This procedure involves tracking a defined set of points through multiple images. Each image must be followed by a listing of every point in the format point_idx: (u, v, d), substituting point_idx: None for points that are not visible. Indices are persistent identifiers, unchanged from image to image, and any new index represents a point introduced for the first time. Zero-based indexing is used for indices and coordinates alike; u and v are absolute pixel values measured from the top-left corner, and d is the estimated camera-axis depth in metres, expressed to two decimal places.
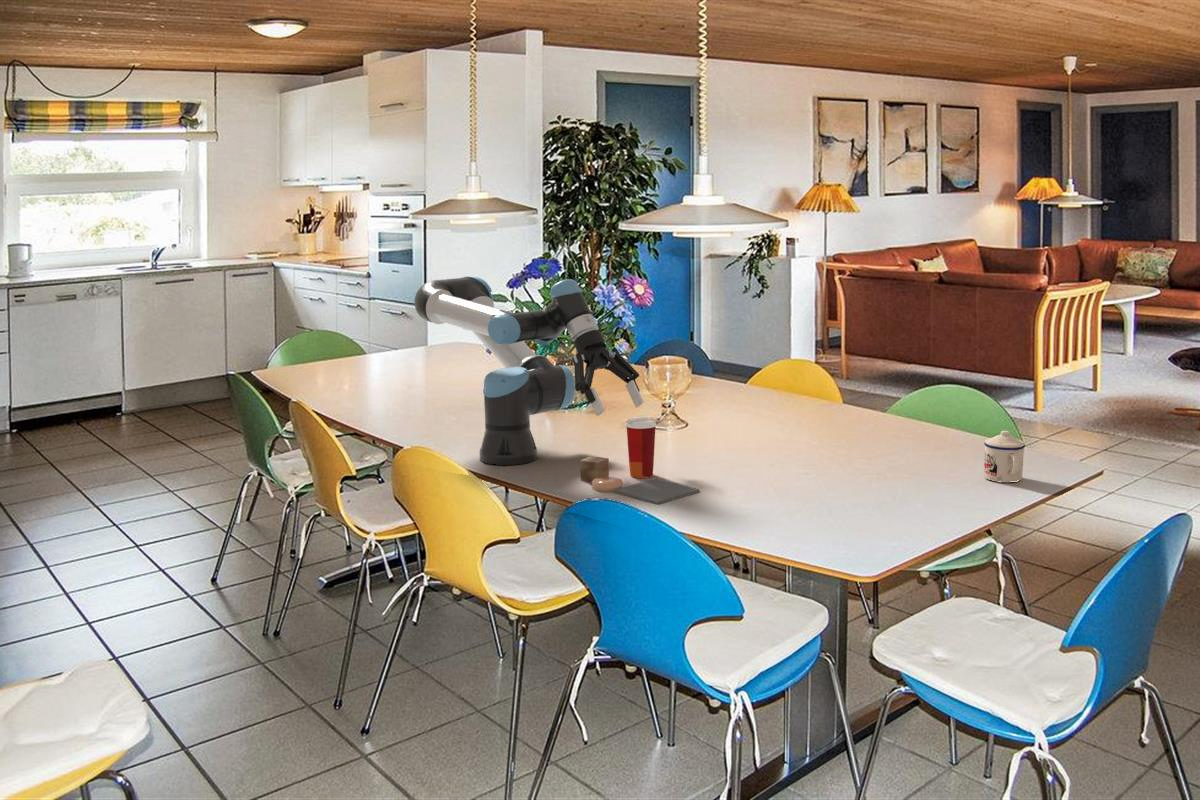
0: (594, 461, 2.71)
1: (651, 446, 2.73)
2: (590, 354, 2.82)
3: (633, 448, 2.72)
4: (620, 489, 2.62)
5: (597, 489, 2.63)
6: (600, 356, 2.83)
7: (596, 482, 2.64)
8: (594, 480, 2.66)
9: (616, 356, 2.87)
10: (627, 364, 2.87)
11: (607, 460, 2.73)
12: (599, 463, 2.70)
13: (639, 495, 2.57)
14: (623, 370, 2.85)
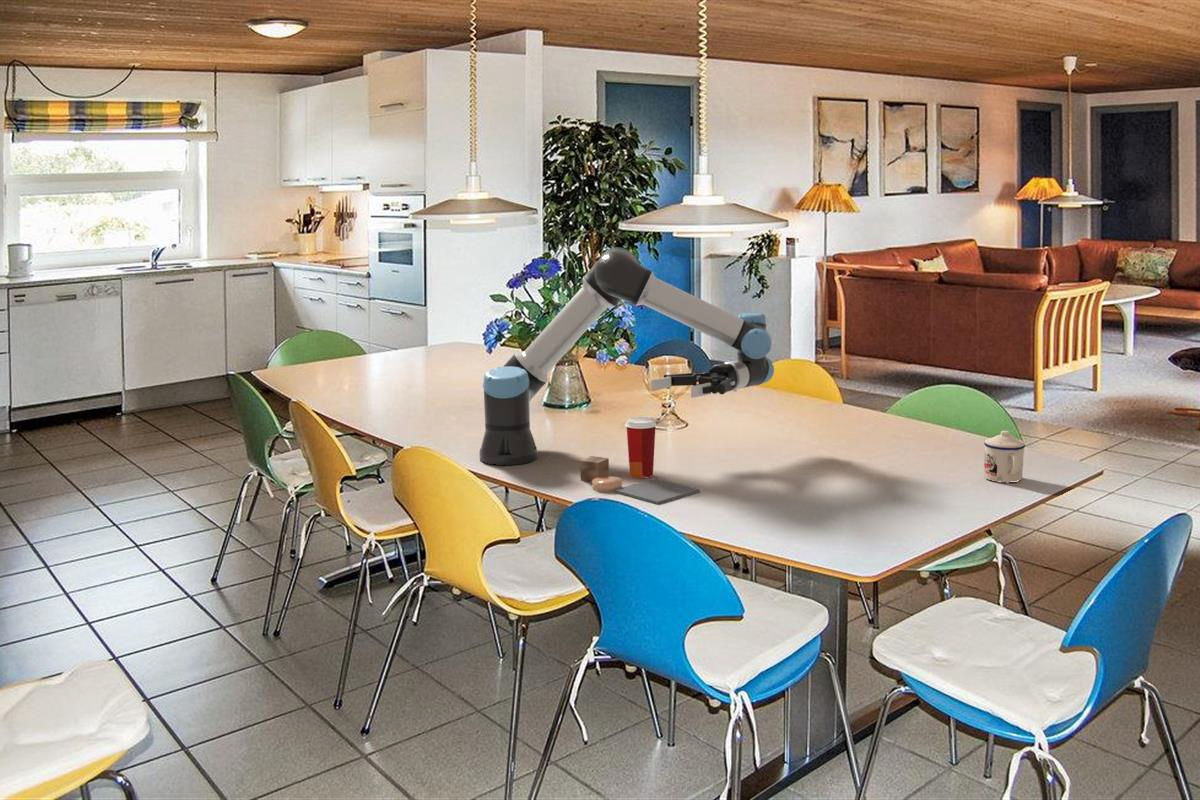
0: (594, 461, 2.71)
1: (651, 446, 2.73)
2: None
3: (633, 448, 2.72)
4: (620, 489, 2.62)
5: (597, 489, 2.63)
6: None
7: (596, 482, 2.64)
8: (594, 480, 2.66)
9: None
10: None
11: (607, 460, 2.73)
12: (599, 463, 2.70)
13: (639, 495, 2.57)
14: None
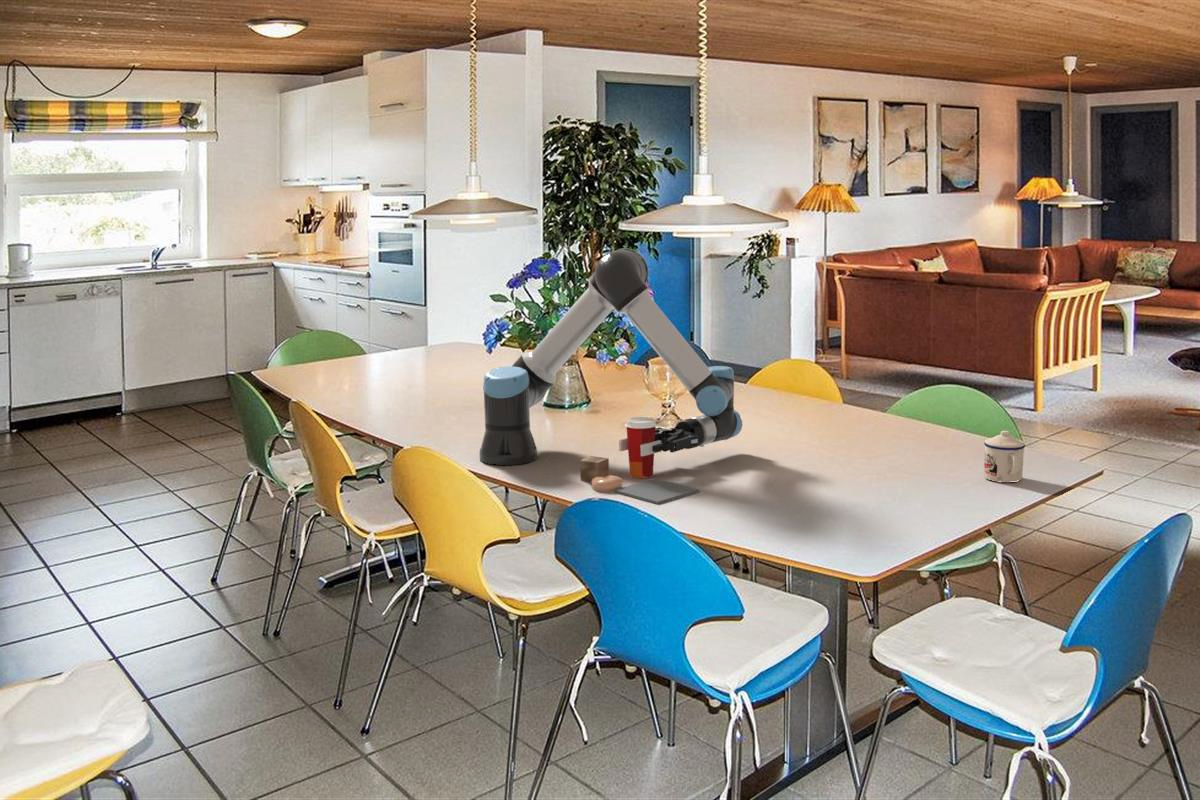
0: (594, 461, 2.71)
1: None
2: None
3: (633, 448, 2.72)
4: (620, 489, 2.62)
5: (605, 490, 2.62)
6: None
7: (602, 483, 2.63)
8: (595, 482, 2.64)
9: None
10: None
11: (607, 460, 2.73)
12: (599, 463, 2.70)
13: (639, 495, 2.57)
14: None
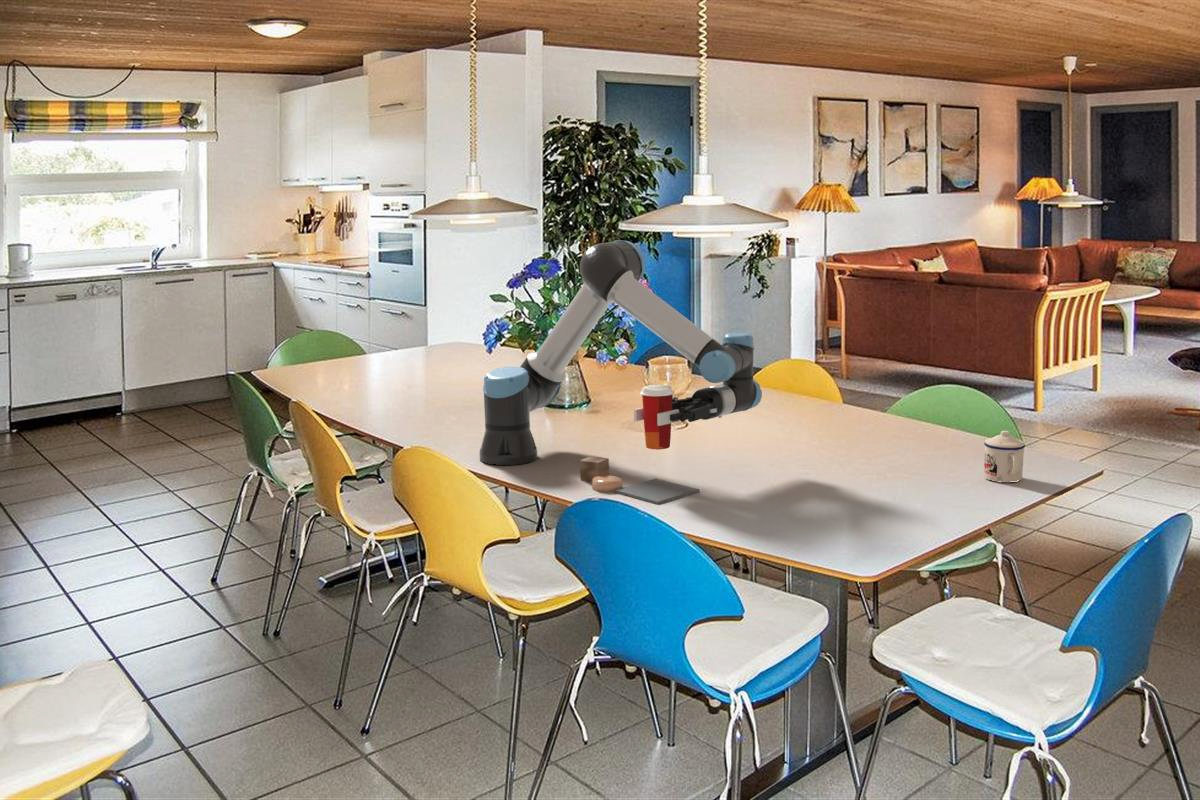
0: (594, 461, 2.71)
1: None
2: None
3: (649, 417, 2.57)
4: (620, 489, 2.62)
5: (611, 489, 2.62)
6: None
7: (607, 483, 2.63)
8: (599, 482, 2.63)
9: None
10: None
11: (607, 460, 2.73)
12: (599, 463, 2.70)
13: (639, 495, 2.57)
14: None
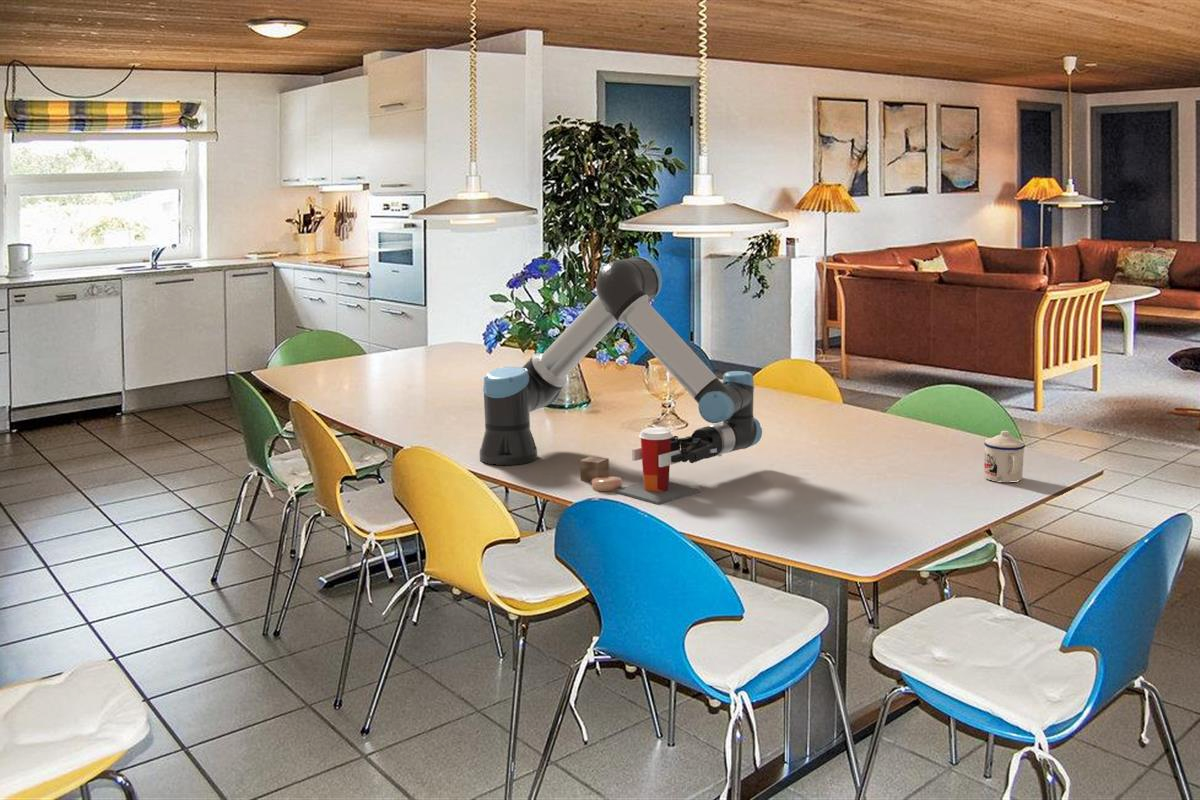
0: (594, 461, 2.71)
1: None
2: None
3: (648, 460, 2.58)
4: (620, 489, 2.62)
5: (618, 486, 2.64)
6: None
7: (614, 481, 2.63)
8: (605, 482, 2.63)
9: None
10: None
11: (607, 460, 2.73)
12: (599, 463, 2.70)
13: (639, 495, 2.57)
14: None
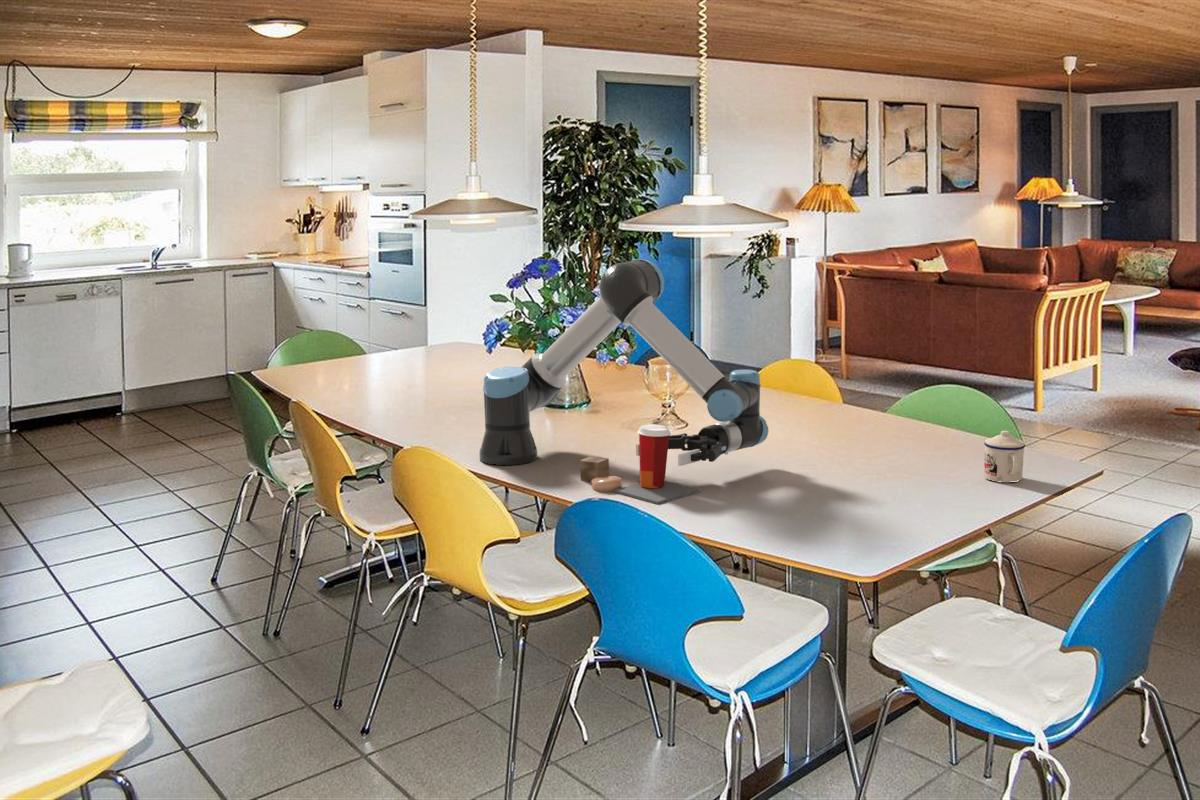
0: (594, 461, 2.71)
1: (663, 456, 2.61)
2: None
3: (645, 456, 2.61)
4: (620, 489, 2.62)
5: (621, 485, 2.65)
6: None
7: (616, 480, 2.64)
8: (609, 482, 2.63)
9: None
10: None
11: (607, 460, 2.73)
12: (599, 463, 2.70)
13: (639, 495, 2.57)
14: None
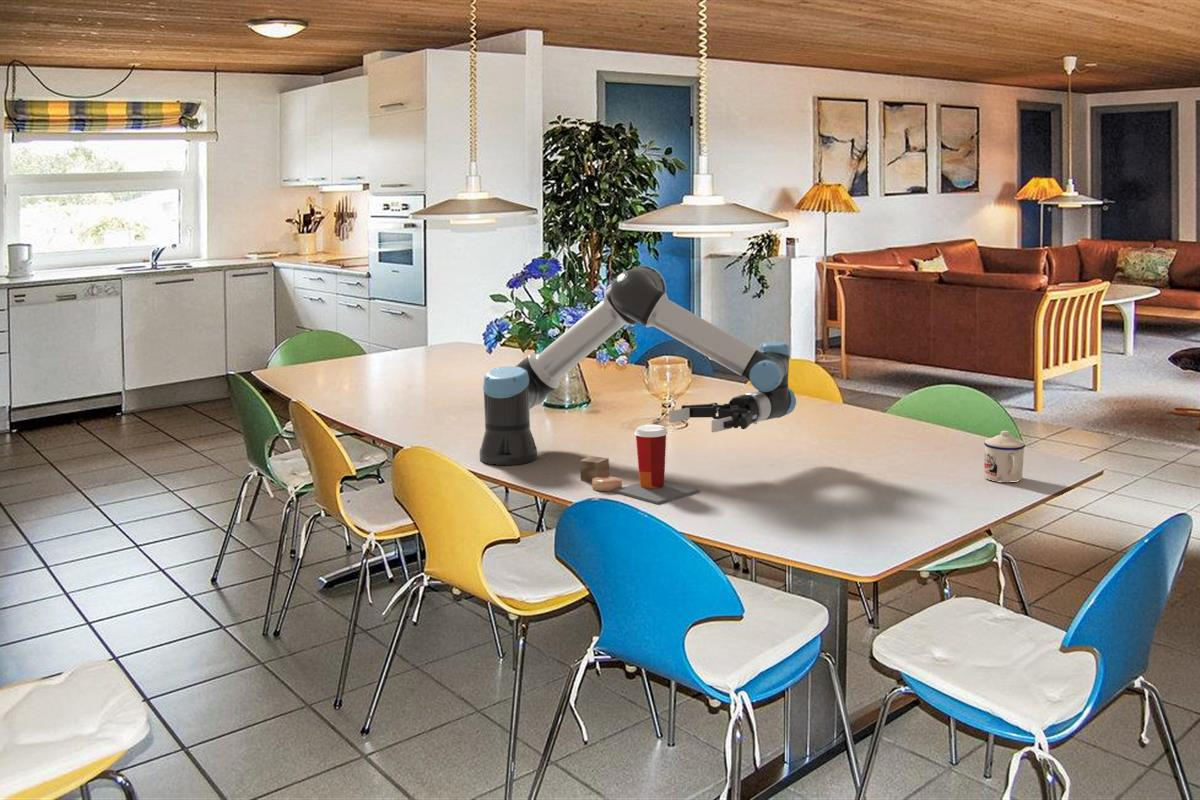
0: (594, 461, 2.71)
1: (661, 456, 2.61)
2: None
3: (642, 457, 2.61)
4: (620, 489, 2.62)
5: None
6: None
7: (619, 479, 2.66)
8: (616, 481, 2.64)
9: None
10: None
11: (607, 460, 2.73)
12: (599, 463, 2.70)
13: (639, 495, 2.57)
14: None
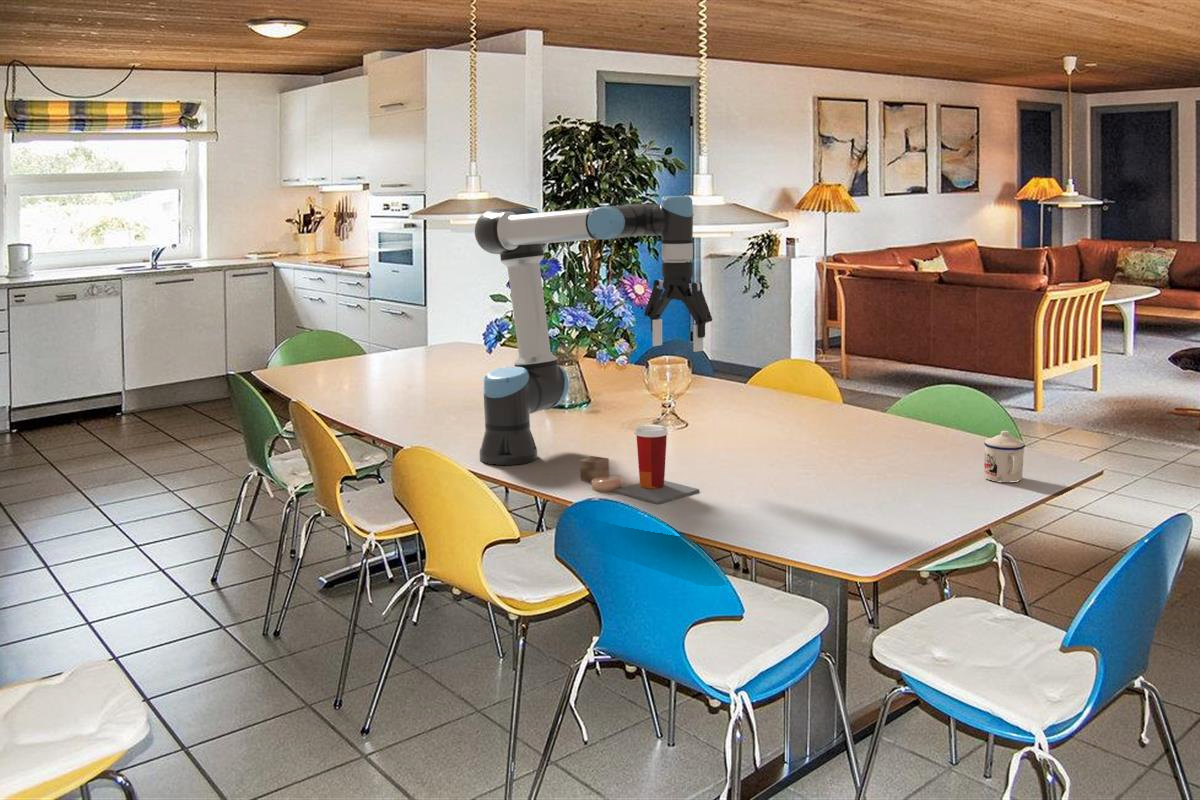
0: (594, 461, 2.71)
1: (661, 456, 2.61)
2: None
3: (642, 457, 2.61)
4: (620, 489, 2.62)
5: None
6: None
7: (614, 477, 2.68)
8: (618, 478, 2.66)
9: (661, 289, 2.77)
10: None
11: (607, 460, 2.73)
12: (599, 463, 2.70)
13: (639, 495, 2.57)
14: None
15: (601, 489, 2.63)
